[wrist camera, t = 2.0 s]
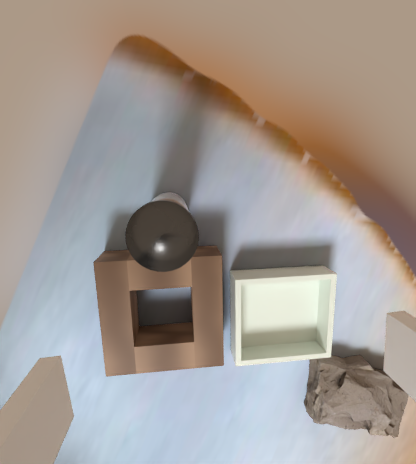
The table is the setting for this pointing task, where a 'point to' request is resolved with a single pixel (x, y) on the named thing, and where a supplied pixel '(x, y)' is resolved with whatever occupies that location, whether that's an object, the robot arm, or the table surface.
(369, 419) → the rock
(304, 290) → the tray
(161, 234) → the capped bottle
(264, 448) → the table surface
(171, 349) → the bore block
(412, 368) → the robot arm
